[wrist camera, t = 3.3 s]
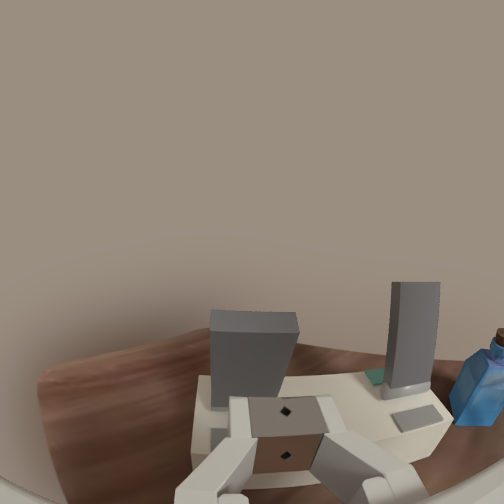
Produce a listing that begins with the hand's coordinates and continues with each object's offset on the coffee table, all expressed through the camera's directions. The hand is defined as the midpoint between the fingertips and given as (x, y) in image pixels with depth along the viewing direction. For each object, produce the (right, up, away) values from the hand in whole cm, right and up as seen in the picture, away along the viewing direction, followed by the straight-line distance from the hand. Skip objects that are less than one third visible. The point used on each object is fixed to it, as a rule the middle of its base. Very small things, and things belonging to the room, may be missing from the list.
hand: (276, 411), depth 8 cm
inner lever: (+14, -9, +16) cm, 23 cm away
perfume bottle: (+28, -17, +19) cm, 38 cm away
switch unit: (+6, -15, +17) cm, 24 cm away
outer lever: (-2, -8, +15) cm, 17 cm away
